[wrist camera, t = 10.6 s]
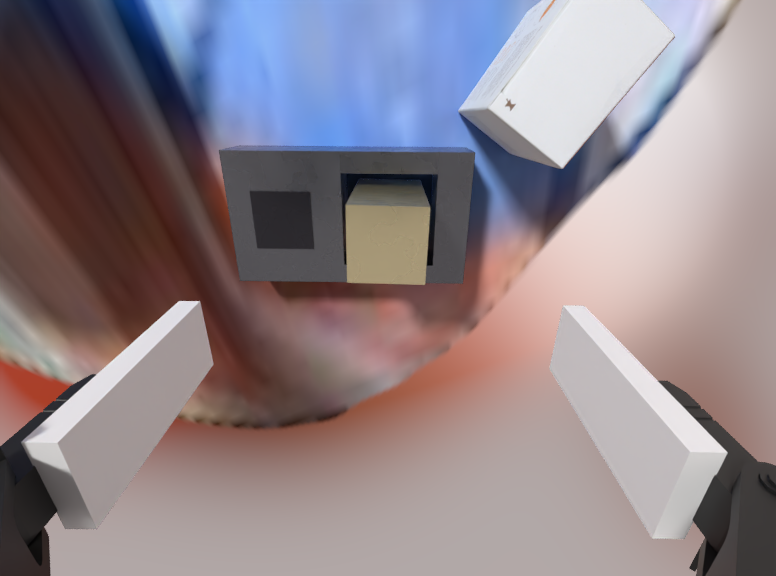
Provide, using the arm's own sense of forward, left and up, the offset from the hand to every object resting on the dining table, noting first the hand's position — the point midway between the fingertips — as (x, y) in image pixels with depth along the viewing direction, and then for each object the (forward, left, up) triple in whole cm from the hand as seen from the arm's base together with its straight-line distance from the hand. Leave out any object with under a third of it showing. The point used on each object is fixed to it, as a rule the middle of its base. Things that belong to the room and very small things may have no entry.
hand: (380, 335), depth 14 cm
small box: (+10, +9, -21) cm, 25 cm away
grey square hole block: (-3, 0, -21) cm, 21 cm away
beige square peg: (0, 0, -21) cm, 21 cm away
